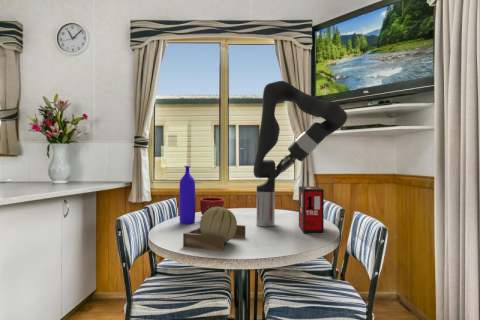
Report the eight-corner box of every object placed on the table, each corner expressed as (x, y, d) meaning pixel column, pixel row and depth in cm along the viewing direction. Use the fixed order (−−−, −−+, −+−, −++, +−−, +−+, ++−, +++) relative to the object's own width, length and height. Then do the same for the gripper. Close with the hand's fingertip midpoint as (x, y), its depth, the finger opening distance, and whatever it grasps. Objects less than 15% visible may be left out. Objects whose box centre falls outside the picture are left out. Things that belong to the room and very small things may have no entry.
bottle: (180, 221, 179) (180, 165, 179) (195, 221, 179) (195, 165, 179) (178, 224, 170) (178, 166, 170) (194, 224, 171) (194, 166, 171)
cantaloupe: (192, 245, 129) (192, 207, 129) (211, 237, 142) (211, 202, 142) (226, 249, 123) (227, 209, 123) (242, 241, 136) (242, 204, 136)
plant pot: (197, 222, 176) (197, 199, 176) (203, 218, 189) (203, 197, 189) (221, 223, 174) (221, 200, 174) (226, 218, 187) (226, 197, 187)
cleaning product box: (298, 226, 167) (298, 186, 167) (316, 226, 167) (316, 186, 166) (303, 233, 150) (303, 189, 150) (323, 233, 150) (323, 189, 150)
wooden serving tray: (211, 233, 149) (211, 222, 149) (245, 237, 143) (245, 225, 143) (183, 246, 127) (183, 233, 127) (222, 251, 121) (222, 237, 121)
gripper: (299, 140, 134) (270, 170, 139) (292, 138, 122) (260, 171, 127) (313, 153, 132) (282, 183, 137) (306, 153, 120) (273, 185, 125)
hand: (272, 177), depth 132 cm, fingers closed
